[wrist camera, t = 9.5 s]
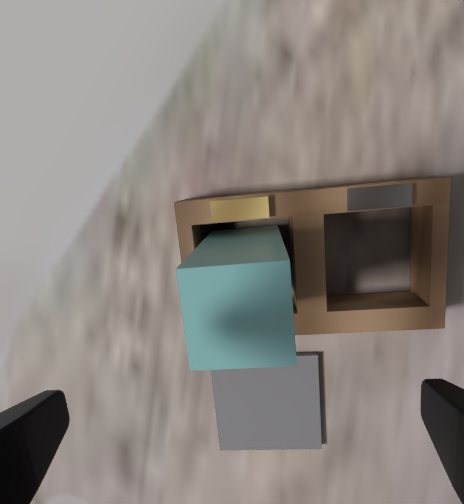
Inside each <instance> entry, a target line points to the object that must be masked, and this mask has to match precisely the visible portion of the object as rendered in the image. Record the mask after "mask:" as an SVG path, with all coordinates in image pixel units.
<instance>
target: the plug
mask: <svg viewBox="0 0 464 504" xmlns="http://www.w3.org/2000/svg"><path fill="white" fill-rule="evenodd" d="M176 274H177V281H178V288H179V295H180V302H181V310H182V317H183V324H184V331H185V338H186V345H187V353H188V360H189V367H190V371H197V370H219V369H242V368H265V367H287V366H297V360H296V345H295V330H294V316H293V301H292V286H291V271H290V259H289V257H288V254H287V251H286V248H285V245H284V242H283V240H282V237H281V234H280V231H279V228H278V226H277V225H273V226H262V227H251V228H239V229H228V230H217V231H212V232H211V233H210V234H209V235H208V236H207V237H206V238H205V239H204V240H203V241H202V242H201V243H200V244H199V245H198V246H197V247H196V248H195V249H194V250H193V252H192V253H191V254H190V255H189V256H188V257H187V258H186V259H185V260H184V261H183V262H182V263H181V264H180V265H179V266H178V267H177V268H176Z"/></svg>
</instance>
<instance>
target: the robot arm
mask: <svg viewBox="0 0 464 504" xmlns="http://www.w3.org/2000/svg"><path fill="white" fill-rule="evenodd" d="M421 416H422V419H423V422H424V424H425V427H426V429H427V431H428V433H429V435H430V438H431V440H432V442H433V444H434V446H435V449H436V451H437V453H438V455H439V457H440V460H441V462H442V464H443V466H444V468H445V471H446V473H447V475H448V477H449V479H450V481H451V483H452V486H453V488H454V490H455V491H456V493H457V495H458V497H459V499H460V501H461V502H462V504H464V389H462V388H460V387H458V386H456V385H454V384H452V383H450V382H448V381H446V380H443V379H425V380H423V381H422V385H421ZM68 426H69V412H68V408H67V403H66V399H65V395H64V393H63V391H61V390H47V391H44V392H42V393H40V394H38V395H36V396H33V397H31V398H29V399H27V400H25V401H23V402H21V403H19V404H17V405H15V406H13V407H11V408H9V409H7V410H5V411H3V412H1V413H0V504H30V503H31V501H32V499H33V497H34V496H35V494H36V492H37V490H38V489H39V487H40V485H41V483H42V481H43V479H44V477H45V475H46V473H47V470H48V468H49V466H50V464H51V462H52V460H53V458H54V456H55V454H56V452H57V449H58V447H59V445H60V443H61V441H62V439H63V437H64V435H65V433H66V431H67V428H68Z"/></svg>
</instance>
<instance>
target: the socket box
mask: <svg viewBox="0 0 464 504" xmlns="http://www.w3.org/2000/svg"><path fill="white" fill-rule="evenodd" d="M450 192H451V177H445V178H417V179H406V180H395V181H384V182H373V183H362V184H351V185H340V186H329V187H317V188H306V189H295V190H284V191H273V192H262V193H251V194H240V195H229V196H218V197H206V198H195V199H184V200H181V201H177V202H174V207H175V215H176V223H177V230H178V238H179V246H180V254H181V262H183V261H184V260H185V259H186V258H187V257H188V256H189V255H190V254H191V253H192V252H193V250H194V249H195V248H196V247H197V246H198V245H199V244H200V243H201V242H202V236H201V227H200V224H211V223H224V222H236V221H248V220H260V219H273V218H285V217H289V229H290V246H291V264H292V282H293V298H292V301H293V316H294V330H295V335H309V334H331V333H352V332H374V331H396V330H417V329H439V328H445V311H446V287H447V264H448V240H449V216H450ZM407 207H411V246H410V291H404V292H387V293H369V294H352V295H335V296H326V269H325V241H324V214H334V213H346V212H358V211H370V210H382V209H395V208H407Z"/></svg>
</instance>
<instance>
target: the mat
mask: <svg viewBox="0 0 464 504" xmlns="http://www.w3.org/2000/svg"><path fill="white" fill-rule="evenodd" d="M296 360H297V366H287V367H265V368H242V369H219V370H211V375H212V384H213V392H214V401H215V409H216V418H217V427H218V435H219V444H220V450H270V449H322V441H321V417H320V394H319V370H318V354H317V352H306V353H296Z"/></svg>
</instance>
